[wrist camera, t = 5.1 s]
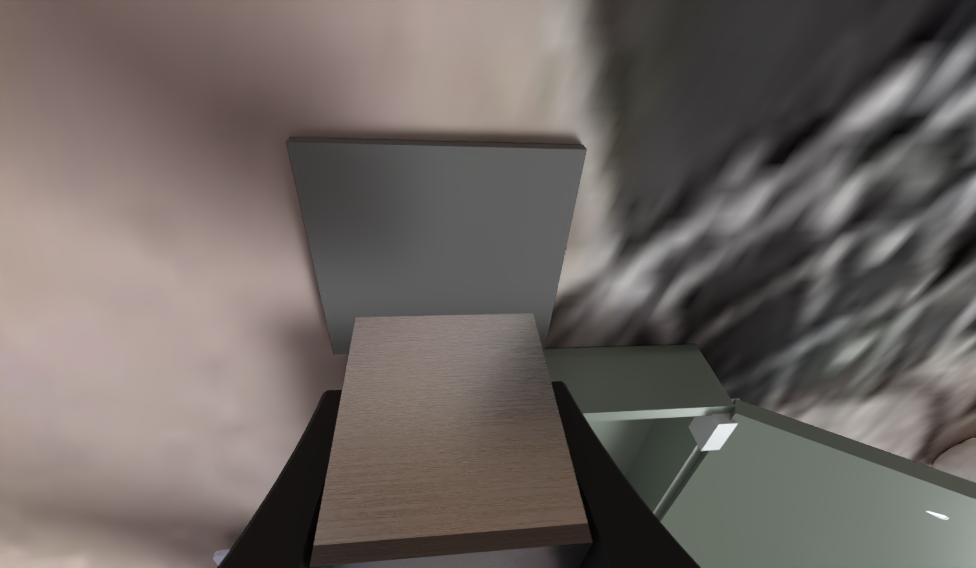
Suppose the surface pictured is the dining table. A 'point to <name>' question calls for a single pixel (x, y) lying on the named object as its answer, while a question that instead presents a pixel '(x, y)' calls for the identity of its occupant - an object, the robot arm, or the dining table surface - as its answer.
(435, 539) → the block
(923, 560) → the case
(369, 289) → the pad
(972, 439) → the white creature statuette
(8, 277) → the dining table surface
